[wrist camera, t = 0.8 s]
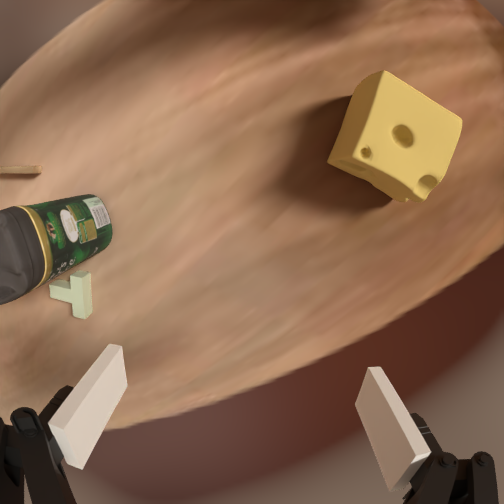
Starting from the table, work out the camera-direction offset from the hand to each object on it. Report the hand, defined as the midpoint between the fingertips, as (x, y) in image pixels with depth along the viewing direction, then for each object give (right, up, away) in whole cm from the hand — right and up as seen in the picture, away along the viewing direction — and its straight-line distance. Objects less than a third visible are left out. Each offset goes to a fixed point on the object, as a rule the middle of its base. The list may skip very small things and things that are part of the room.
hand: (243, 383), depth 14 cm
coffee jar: (-22, +10, +21) cm, 32 cm away
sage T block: (-25, +1, +23) cm, 34 cm away
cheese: (+15, +20, +18) cm, 31 cm away
